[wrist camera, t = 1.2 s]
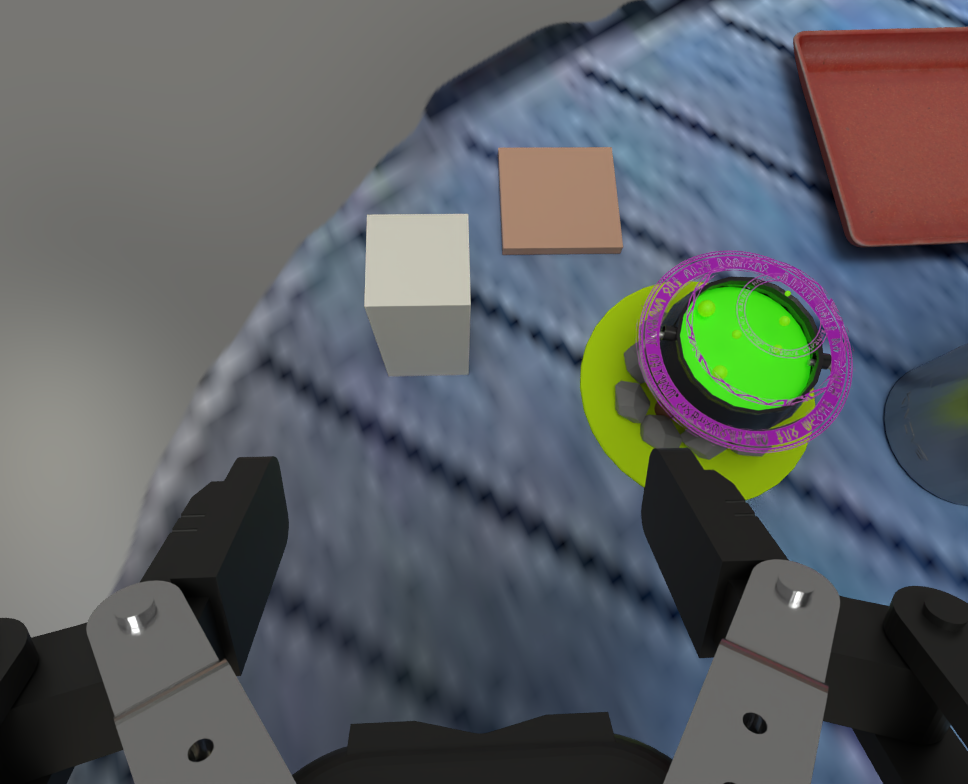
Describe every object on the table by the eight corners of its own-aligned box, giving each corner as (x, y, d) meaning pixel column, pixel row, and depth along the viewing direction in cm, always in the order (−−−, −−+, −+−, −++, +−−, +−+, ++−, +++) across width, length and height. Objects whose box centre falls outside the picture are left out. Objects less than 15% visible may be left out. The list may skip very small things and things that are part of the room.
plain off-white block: (466, 300, 40) (467, 211, 30) (468, 374, 38) (470, 304, 29) (389, 301, 40) (367, 212, 30) (388, 376, 38) (364, 306, 29)
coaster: (608, 155, 44) (611, 147, 43) (620, 253, 41) (622, 247, 41) (497, 155, 43) (498, 147, 43) (502, 254, 41) (503, 248, 40)
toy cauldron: (563, 481, 37) (604, 440, 26) (594, 264, 41) (639, 155, 31) (811, 528, 36) (953, 504, 26) (815, 304, 41) (936, 207, 30)
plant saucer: (770, 64, 47) (792, 27, 44) (991, 58, 48) (1028, 21, 45) (825, 272, 42) (855, 246, 39) (1074, 260, 43) (1122, 234, 40)
